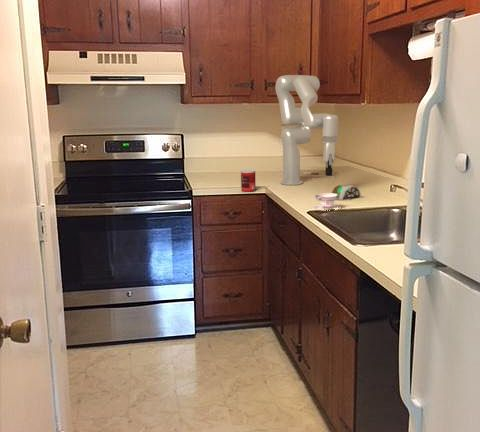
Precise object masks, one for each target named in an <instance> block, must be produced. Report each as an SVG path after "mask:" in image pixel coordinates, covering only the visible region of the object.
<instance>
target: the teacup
mask: <svg viewBox="0 0 480 432" xmlns="http://www.w3.org/2000/svg"><path fill="white" fill-rule="evenodd" d="M318 195H319V196H320V197H317V198H316V200H317V202H318V203H319V204H317V205H314V209H315V210H319V211H324V212H325V211H326V210H324V209H325V208H326V209H330V208H331V209H333V208H337V207H338V208H339V210H341V209H342V206H340V205H339V204H335V201H336V200H335V198H336V197H337V194H333V193H332V192H331V193H329V192H326V193H324V192H323V193H319V194H318ZM318 198H321V200H318ZM339 210H338V209H335V210H334V211H339ZM327 211H328V210H327ZM327 211H326V212H327ZM328 212H331V211H330V210H329V211H328Z"/></svg>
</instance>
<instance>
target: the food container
mask: <svg viewBox="0 0 480 432" xmlns="http://www.w3.org/2000/svg"><path fill="white" fill-rule="evenodd" d="M331 193H333V194H337V197H336V198H339V199H341V200H340V201H344V200H343V199H346V198H350V199H353V198H362V194H361V193H362V192H361V191H360V190H359V189H358V188H357V186H355V185H351V184H348V185H337V186H335V187H334V188H333V189H332V191H331Z"/></svg>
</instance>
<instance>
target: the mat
mask: <svg viewBox="0 0 480 432" xmlns="http://www.w3.org/2000/svg"><path fill="white" fill-rule="evenodd" d="M314 196H315V199H317V197H320V196H319V194H318V195H317V194H315V195H314ZM318 200H319V201H322V200H321V198H318ZM318 200H317V201H318ZM351 200H352V198H346V199H343V200H341V199H339V198H335V200H334V201H351Z"/></svg>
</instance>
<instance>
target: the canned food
mask: <svg viewBox="0 0 480 432" xmlns="http://www.w3.org/2000/svg"><path fill="white" fill-rule="evenodd" d="M256 183H257V181H256V170H255V169H241V170H240V189H241V193H254V192H256Z"/></svg>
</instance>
